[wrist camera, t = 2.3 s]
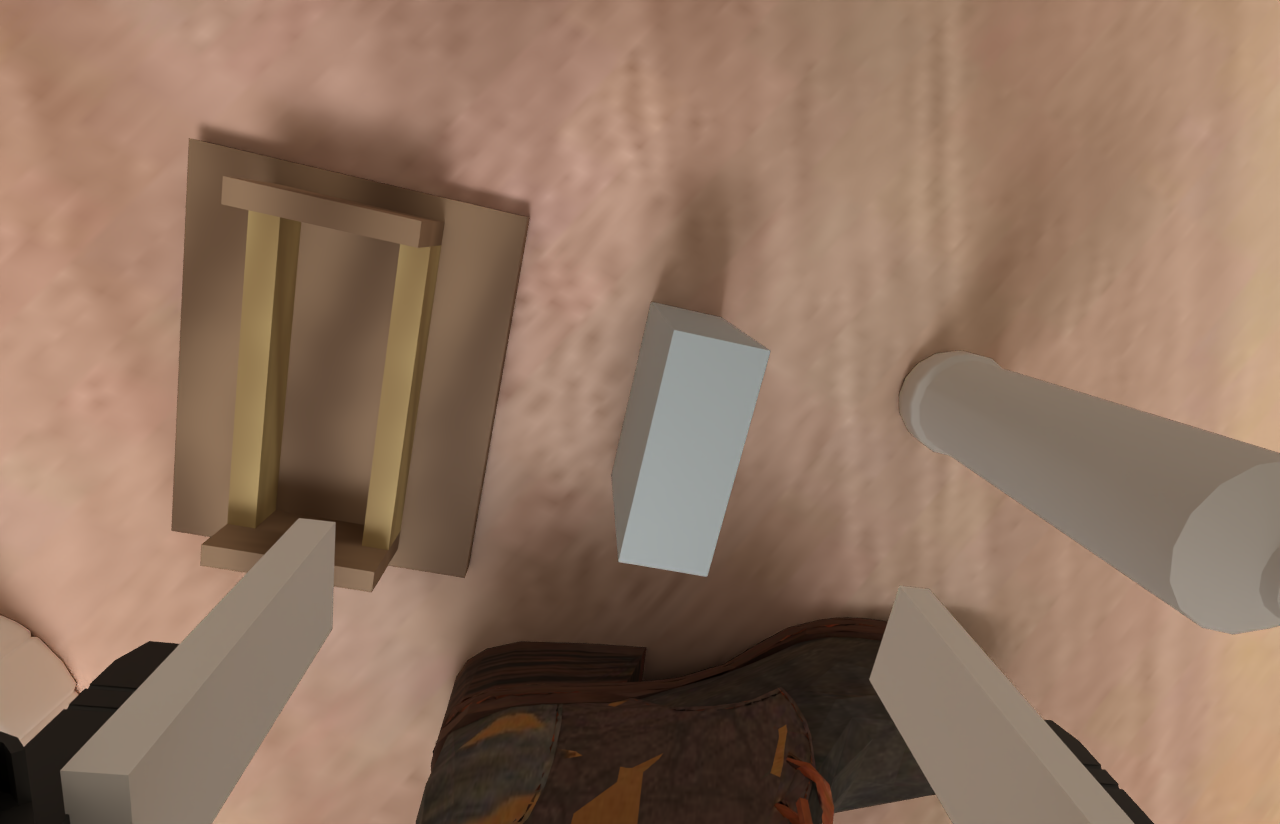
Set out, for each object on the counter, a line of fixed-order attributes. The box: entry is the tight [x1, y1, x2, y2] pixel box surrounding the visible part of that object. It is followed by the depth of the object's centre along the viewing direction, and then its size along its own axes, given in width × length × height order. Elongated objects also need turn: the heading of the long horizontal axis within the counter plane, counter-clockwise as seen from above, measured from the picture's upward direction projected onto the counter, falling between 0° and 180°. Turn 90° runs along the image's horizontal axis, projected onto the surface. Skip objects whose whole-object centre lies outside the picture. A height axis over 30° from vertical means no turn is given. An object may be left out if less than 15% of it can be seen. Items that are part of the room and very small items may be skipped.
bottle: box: [899, 351, 1280, 634], centre depth 21 cm, size 5×5×25 cm
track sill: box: [171, 138, 530, 592], centre depth 28 cm, size 14×18×5 cm
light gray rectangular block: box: [611, 302, 770, 577], centre depth 28 cm, size 4×9×9 cm, turn 167°
